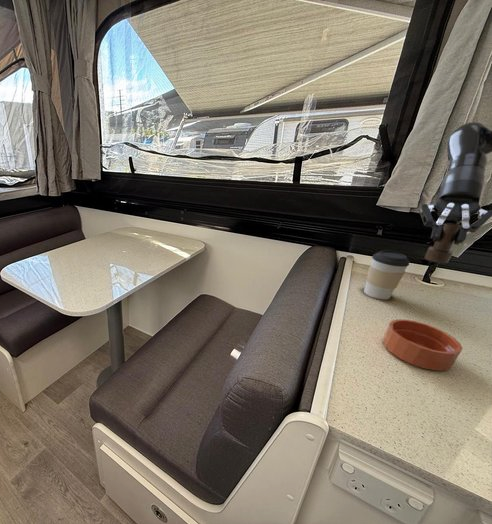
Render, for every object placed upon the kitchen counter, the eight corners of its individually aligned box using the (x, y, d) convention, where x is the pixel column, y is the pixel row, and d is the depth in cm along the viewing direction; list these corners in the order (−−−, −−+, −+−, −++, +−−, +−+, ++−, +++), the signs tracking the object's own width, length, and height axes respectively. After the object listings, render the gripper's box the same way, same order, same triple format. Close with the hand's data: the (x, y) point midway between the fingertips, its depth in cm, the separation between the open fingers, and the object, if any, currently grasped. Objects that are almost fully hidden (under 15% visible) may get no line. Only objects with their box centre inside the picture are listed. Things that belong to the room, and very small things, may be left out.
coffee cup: (399, 303, 86) (418, 260, 80) (365, 298, 89) (381, 257, 83) (386, 289, 94) (403, 249, 88) (356, 285, 96) (370, 247, 90)
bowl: (431, 342, 69) (441, 325, 67) (464, 378, 59) (477, 359, 56) (373, 332, 73) (380, 315, 71) (394, 364, 63) (403, 346, 60)
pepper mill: (441, 257, 74) (458, 222, 70) (452, 264, 71) (470, 227, 66) (420, 255, 76) (435, 221, 72) (429, 262, 72) (446, 226, 68)
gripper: (429, 176, 74) (414, 229, 71) (510, 180, 66) (496, 240, 62) (420, 193, 80) (405, 242, 77) (493, 198, 71) (480, 254, 68)
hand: (446, 241), depth 69 cm, fingers closed on pepper mill, 3 cm apart
